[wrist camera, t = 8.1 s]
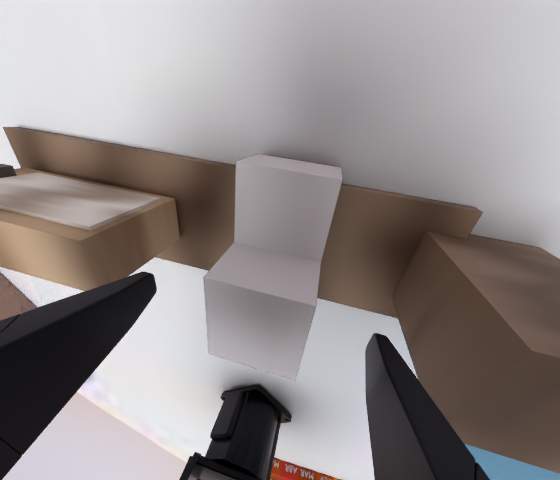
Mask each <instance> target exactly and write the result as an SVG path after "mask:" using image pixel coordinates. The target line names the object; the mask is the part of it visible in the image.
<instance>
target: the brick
mask: <svg viewBox="0 0 560 480" xmlns="http://www.w3.org/2000/svg"><path fill="white" fill-rule="evenodd" d="M35 308H36V306H35V305H34V304H33V303H32V302H30V301H29V300H28V298H27V297H26V296H25V295H24V294H23V293H22V292H20V291H19V290H18V289H17V288H16V287H15V286H14V285H13V284H12V283H11V282H10V281H9V280H8V279H7V278H6V277H4V276H3V275H2V274H1V273H0V320H3V319H6V318H9V317H12V316H14V315H17V314H22V313H23V312H26V311H29V310H32V309H35Z"/></svg>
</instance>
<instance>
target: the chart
mask: <svg viewBox="0 0 560 480" xmlns="http://www.w3.org/2000/svg"><path fill="white" fill-rule="evenodd" d="M270 480H340V479H337V478H334V477H330V476H327V475H324V474H321V473H318V472H315V471H312V470H309V469H306V468H303V467H300V466H297V465H294V464H291V463H288V462H285V461H282V460H279V459H276V458H274V461H273V466H272V472H271V477H270Z"/></svg>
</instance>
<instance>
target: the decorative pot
mask: <svg viewBox="0 0 560 480" xmlns="http://www.w3.org/2000/svg"><path fill="white" fill-rule="evenodd" d="M465 446H466V447H467V448H468V450H469V451H470V453H471V454H472V455H473V457H474V458H475V462H477V463H478V464H479V465H480V466H481V468H482V469H483V470H484V472H485V473H486V475H487V476H488V477H489V479H490V480H560V474H559V473H556V472H553V471H549V470H546V469H543V468H540V467H537V466H534V465H530V464H527V463H524V462H521V461H518V460H515V459H511V458H508V457H505V456H502V455H499V454H495V453H492V452H489V451H486V450H483V449H480V448H476V447H473V446H470V445H467V444H465Z"/></svg>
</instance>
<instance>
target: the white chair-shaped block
mask: <svg viewBox="0 0 560 480" xmlns="http://www.w3.org/2000/svg"><path fill="white" fill-rule="evenodd" d="M341 183H342V173H341V167H335V166H329V165H322V164H316V163H310V162H304V161H298V160H292V159H286V158H280V157H274V156H268V155H262V154H256V155H253V156H250V157H247V158H244V159H241V160H238V161H236V182H235V232H234V243H233V244H232V245H231V247H230V248H229V249H228V250H227V251H226V252H225V253H224V255H223V256H222V257H221V258H220V259H219V260H218V261H217V263H216V264H215V265H214V266H213V267H212V268H211V269H210V270H209V272H208V273H207V274H206V275H205V276H204V292H205V306H206V321H207V336H208V351H209V354H210V355H214V356H217V357H220V358H223V359H227V360H230V361H233V362H236V363H240V364H243V365H246V366H249V367H253V368H256V369H259V370H262V371H265V372H269V373H272V374H275V375H278V376H282V377H285V378H288V379H291V380H295V379H296V376H297V372H298V369H299V365H300V362H301V358H302V354H303V351H304V347H305V344H306V340H307V337H308V333H309V330H310V326H311V323H312V319H313V316H314V312H315V309H316V303H317V294H318V284H319V275H320V265H321V259H322V256H323V252H324V248H325V244H326V240H327V237H328V233H329V229H330V225H331V221H332V217H333V214H334V210H335V206H336V202H337V198H338V195H339V191H340V187H341Z"/></svg>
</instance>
